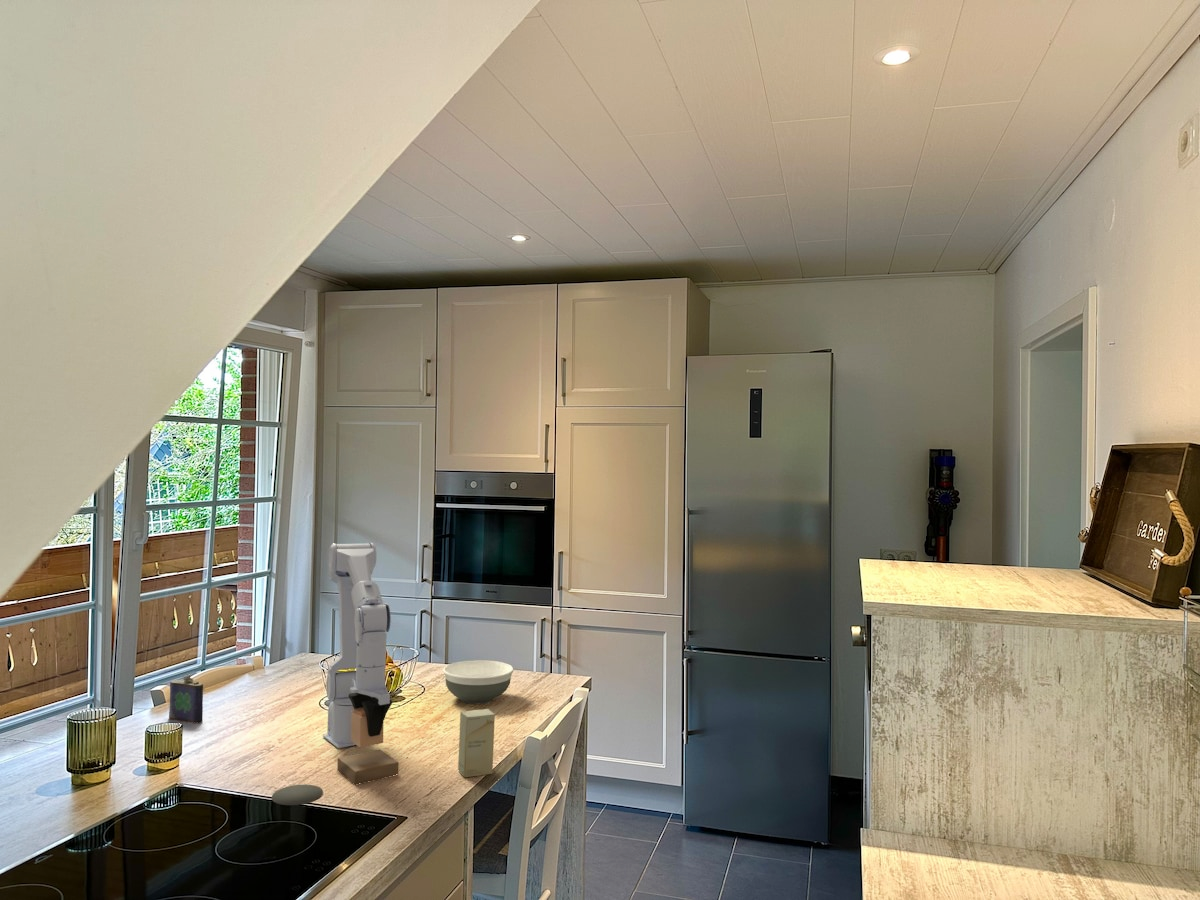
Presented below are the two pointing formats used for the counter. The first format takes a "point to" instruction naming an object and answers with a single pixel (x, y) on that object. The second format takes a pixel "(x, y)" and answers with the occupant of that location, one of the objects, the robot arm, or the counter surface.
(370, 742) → the tall tan wooden block
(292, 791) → the coaster
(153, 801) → the counter surface
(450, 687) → the bowl
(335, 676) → the robot arm
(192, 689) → the flask
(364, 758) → the walnut block
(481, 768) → the skincare box
